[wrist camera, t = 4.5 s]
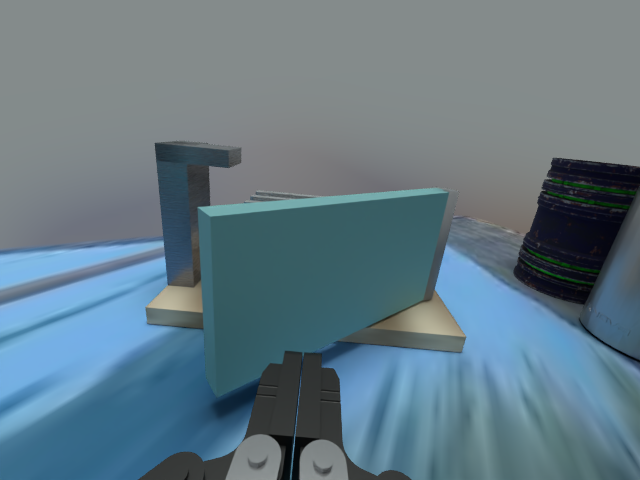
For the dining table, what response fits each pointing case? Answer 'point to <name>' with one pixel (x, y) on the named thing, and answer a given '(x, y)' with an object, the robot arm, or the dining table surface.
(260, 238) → the teal upright panel
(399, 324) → the mounting board
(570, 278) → the storage jar
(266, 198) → the cooler block
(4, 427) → the dining table surface
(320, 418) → the robot arm
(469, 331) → the dining table surface
